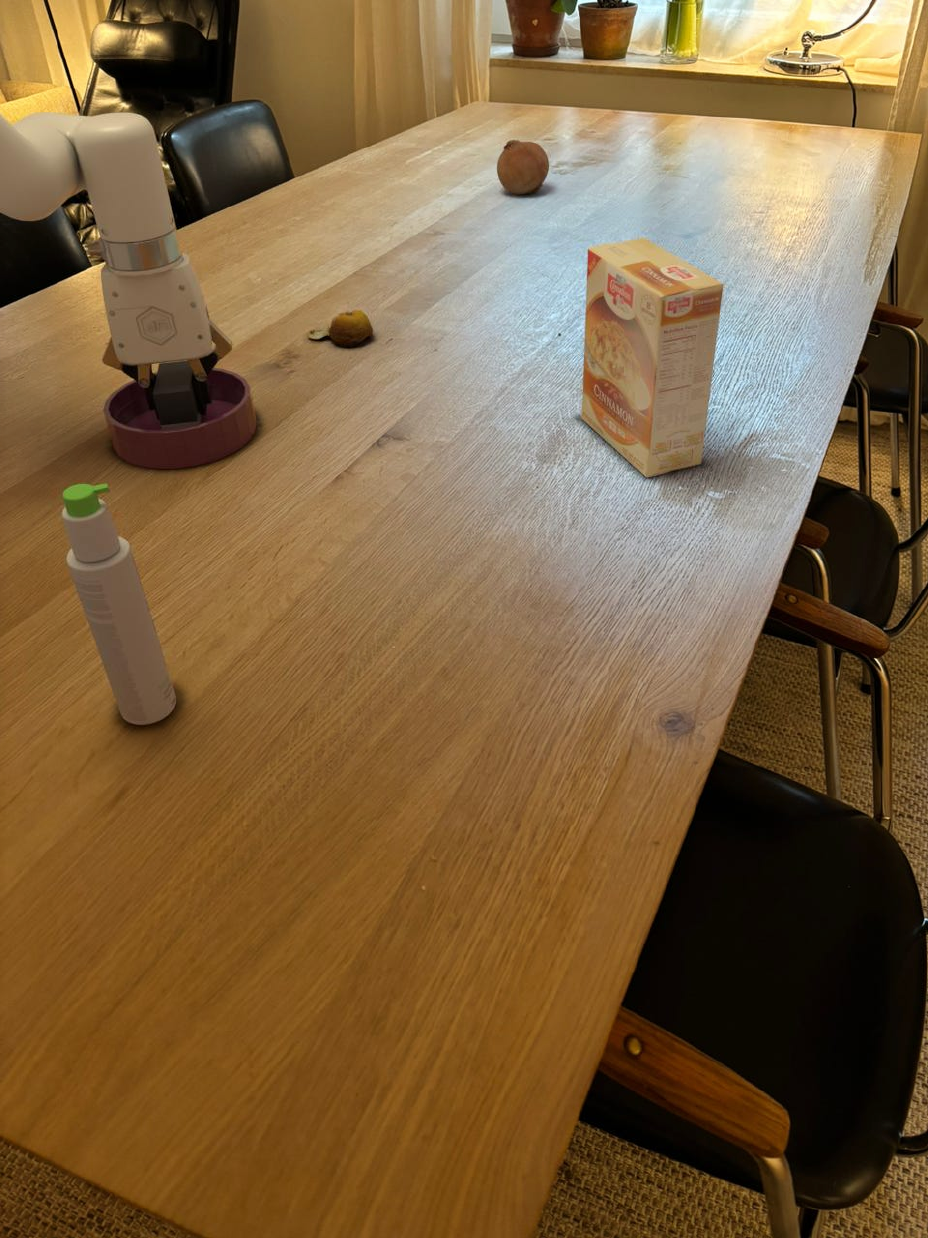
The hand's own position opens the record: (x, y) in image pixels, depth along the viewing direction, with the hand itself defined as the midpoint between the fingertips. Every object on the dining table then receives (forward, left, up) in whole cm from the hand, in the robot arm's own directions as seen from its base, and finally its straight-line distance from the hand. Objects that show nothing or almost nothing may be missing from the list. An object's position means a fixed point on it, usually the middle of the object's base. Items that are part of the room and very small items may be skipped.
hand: (182, 410), depth 113 cm
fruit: (+20, +24, -3) cm, 31 cm away
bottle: (0, -46, -3) cm, 46 cm away
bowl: (0, 0, -3) cm, 3 cm away
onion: (+56, +81, -3) cm, 98 cm away
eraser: (0, 0, -1) cm, 1 cm away
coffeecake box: (+50, -13, -3) cm, 52 cm away
